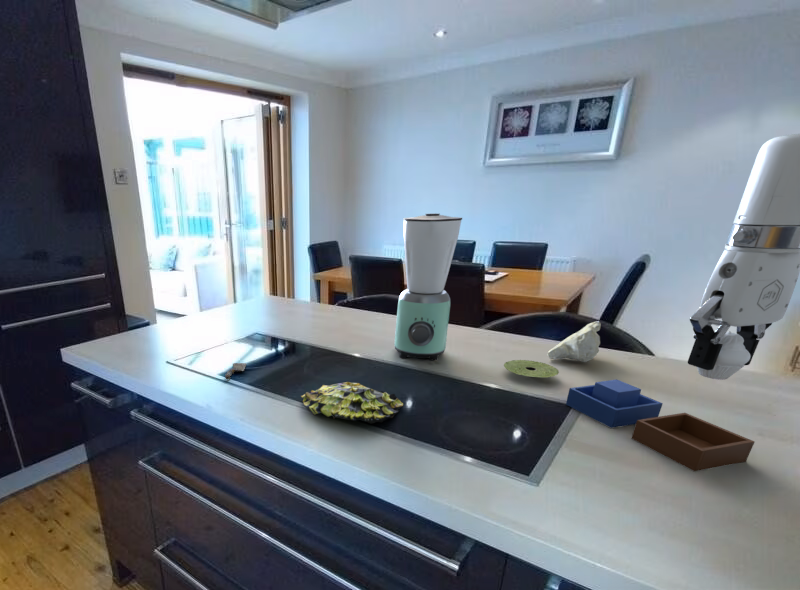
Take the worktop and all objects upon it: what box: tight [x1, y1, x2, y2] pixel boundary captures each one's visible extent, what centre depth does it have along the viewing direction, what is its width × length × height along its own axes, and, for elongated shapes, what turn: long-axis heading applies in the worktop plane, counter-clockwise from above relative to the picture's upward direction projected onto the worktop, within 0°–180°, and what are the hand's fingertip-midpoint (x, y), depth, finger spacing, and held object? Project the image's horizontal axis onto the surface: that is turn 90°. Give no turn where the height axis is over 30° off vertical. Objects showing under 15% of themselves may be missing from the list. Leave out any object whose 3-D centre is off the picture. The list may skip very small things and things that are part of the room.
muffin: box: [696, 330, 751, 381], centre depth 65 cm, size 6×6×7 cm
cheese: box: [546, 320, 601, 363], centre depth 110 cm, size 15×7×15 cm
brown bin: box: [630, 412, 756, 472], centre depth 71 cm, size 10×10×4 cm
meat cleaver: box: [224, 362, 247, 380], centre depth 108 cm, size 12×1×5 cm
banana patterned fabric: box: [300, 381, 404, 424], centre depth 88 cm, size 20×16×6 cm
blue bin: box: [565, 384, 663, 429], centre depth 83 cm, size 10×10×4 cm
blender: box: [393, 212, 463, 362], centre depth 112 cm, size 19×13×35 cm
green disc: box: [503, 359, 560, 378], centre depth 101 cm, size 11×11×2 cm
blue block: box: [592, 379, 642, 409], centre depth 83 cm, size 5×5×5 cm
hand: (718, 363), depth 66 cm, fingers closed on muffin, 6 cm apart
